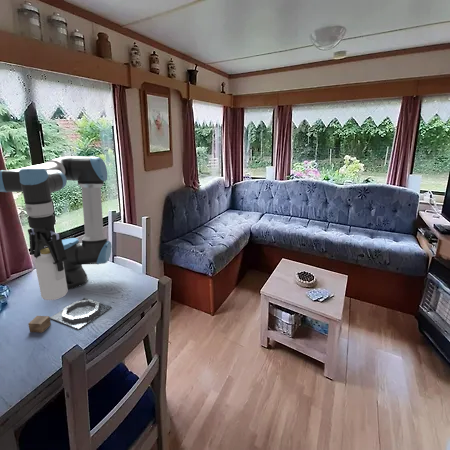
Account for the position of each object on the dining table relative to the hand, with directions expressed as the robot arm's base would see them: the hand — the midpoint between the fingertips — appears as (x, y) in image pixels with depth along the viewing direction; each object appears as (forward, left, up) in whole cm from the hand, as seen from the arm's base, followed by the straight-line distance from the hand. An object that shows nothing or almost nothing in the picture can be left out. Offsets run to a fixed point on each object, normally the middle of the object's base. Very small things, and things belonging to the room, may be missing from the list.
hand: (51, 276), depth 98 cm
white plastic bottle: (0, 0, -8) cm, 8 cm away
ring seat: (-5, +13, -25) cm, 29 cm away
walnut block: (-11, -1, -25) cm, 27 cm away
